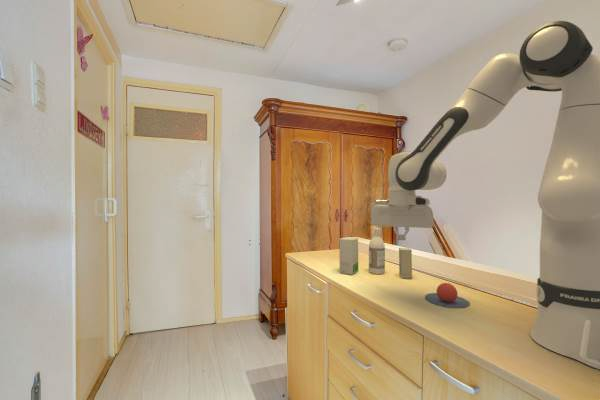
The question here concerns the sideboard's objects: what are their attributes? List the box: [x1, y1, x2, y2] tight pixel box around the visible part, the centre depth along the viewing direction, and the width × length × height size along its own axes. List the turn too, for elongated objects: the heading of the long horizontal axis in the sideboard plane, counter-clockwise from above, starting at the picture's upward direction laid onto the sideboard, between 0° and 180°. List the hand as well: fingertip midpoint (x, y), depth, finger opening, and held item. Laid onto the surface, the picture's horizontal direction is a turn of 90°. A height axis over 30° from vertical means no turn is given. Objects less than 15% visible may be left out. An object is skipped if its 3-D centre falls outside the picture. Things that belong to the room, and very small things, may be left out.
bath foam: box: [368, 227, 386, 275], centre depth 125 cm, size 7×7×20 cm
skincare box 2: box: [398, 247, 413, 280], centre depth 118 cm, size 6×4×12 cm
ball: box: [436, 282, 458, 302], centre depth 89 cm, size 6×6×6 cm
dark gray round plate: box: [424, 292, 471, 309], centre depth 91 cm, size 13×13×1 cm
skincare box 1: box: [338, 236, 359, 276], centre depth 125 cm, size 8×7×16 cm
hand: (401, 240), depth 95 cm, fingers closed
